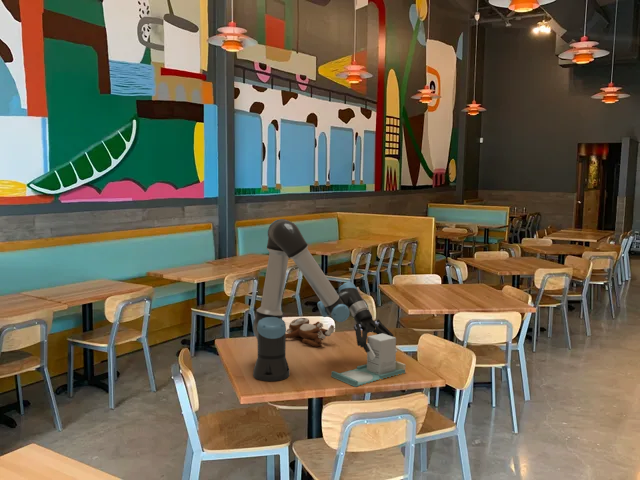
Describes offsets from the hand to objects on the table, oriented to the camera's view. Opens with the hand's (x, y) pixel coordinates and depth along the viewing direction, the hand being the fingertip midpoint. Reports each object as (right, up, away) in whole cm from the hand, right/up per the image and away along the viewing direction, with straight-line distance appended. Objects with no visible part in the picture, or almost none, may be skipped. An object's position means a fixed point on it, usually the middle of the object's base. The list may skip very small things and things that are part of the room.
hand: (384, 355), depth 241 cm
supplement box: (-1, -7, +2) cm, 8 cm away
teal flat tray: (-7, -8, -1) cm, 10 cm away
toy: (-34, -3, +49) cm, 60 cm away
